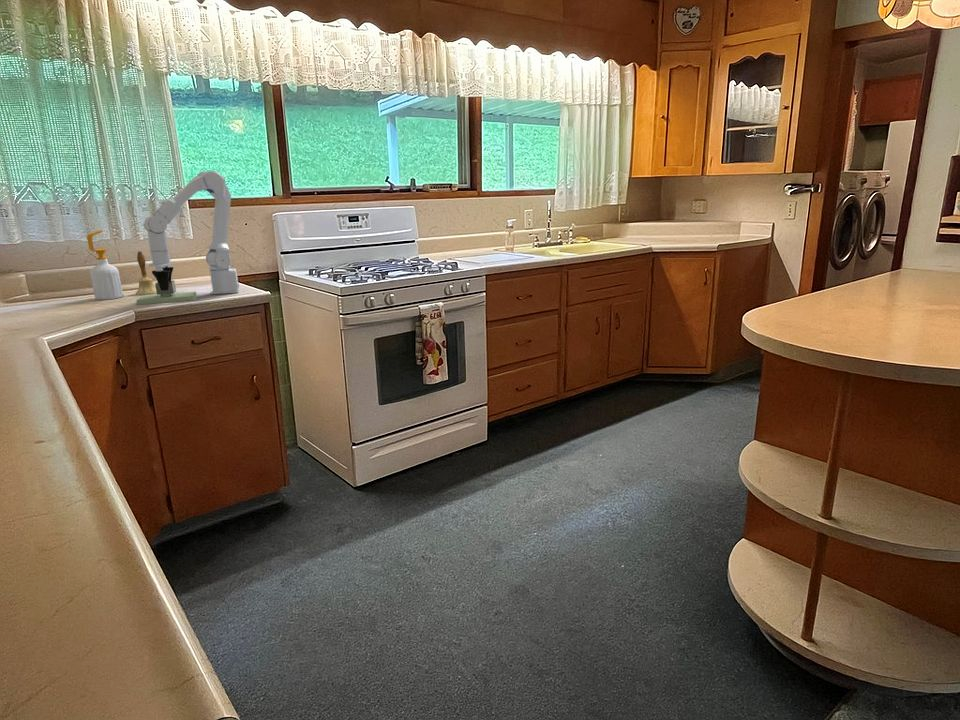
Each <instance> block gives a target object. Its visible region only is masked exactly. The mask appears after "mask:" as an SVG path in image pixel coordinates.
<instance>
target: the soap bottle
mask: <svg viewBox="0 0 960 720" xmlns="http://www.w3.org/2000/svg"><path fill="white" fill-rule="evenodd" d="M103 232H104V231H103V230H101V229H100V230H95V231H93V232H90V233H89V234H87V235H86V238H87V239H86V240H87V244H88V249H89V250H90V251H92V252H95V253H96V255H97V254H98V255H97V256H98V257H96V262H97V264H96V265H95V266H93V267H92V268H91V269H90V270H89V275H90V279H91V284H92V290H93V293H94V298H95V300H98V301H106V300H107V301H109V300H115V299H116V300H117V299H120V298H122V297H123V296H124V292H123V287H122V282H121V276H120V271H119V268H117V267H116V266H114V265H112V264H110V263H109V261H108V258H107V256H105V255H104V254H106V251H109V249H108V248H99V249H98V248H97V249H95V248H94V243H93V236H95V235H98V234H100V233H103Z"/></svg>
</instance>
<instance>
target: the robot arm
mask: <svg viewBox="0 0 960 720" xmlns="http://www.w3.org/2000/svg"><path fill="white" fill-rule="evenodd" d="M201 191H206V192H208V193H209V194H210V195H211V196H212V197H213V199H214V200H215V201H214V211H213V212H214V213H213V216H214V217H213V224H212V225H213V226H212V237H211V238H212V239H211V244H210V245H209V247H208V248H209V249H208V252H207V253H206V255H205V261H206V263H207V265H209V275H210V281H211V288H212V291H211V293H210V294H211V295H220V294H221V295H222V294H235V293H239V290H240V284H239V279H238V274H237V273H238V272H237V269H236V268H234V267H233V268H231V264H232V258H231V255H230V248H229V247H230V246H229V245H228V236H229V225H230V213H231V212H230V211H231V203H232V201H231V200H232V195H231V193H230V190H229V188H228V186H227V183H226V179H225V178H224V176H223V175H222V174H220V173H219V172H218V171H216V170H210V171H201V172H199V173H198V174H197V175H196V176H194V177H193V178H192V179H191V180H190V181H189V182H188V183H187V184H186V185H185V186H184V187H183V188H182V189H181V190H180V191H179V192H178V194H177V195H176V196H175V197H174V198H173V199H166V200H162V201H161V202H160V204H161V205H160V206H159V207H157V209H156V210H155V211H154V210H153V211H152V212H151V215H149V216H147V217H146V218H145V219H144V222H143V228H144V229H145V230H146V231H147V240H148V245H149V250H150V256H151V262H152V263H149V267H153V268H154V269H155V270H151V274H152V275H153V276H154V278H155V279H156V281H157V282H158V284H159V286H160V289H161V291H164V290H168V281H172V275H173V270H174V267H173V266H172V261H171V256H170V251H169V250H170V249H169V244H168V239H167V235H166V230H167V227H168V225H169V224H170V223H171V222H173V220H174V219H176V217H177V216H178V215H179V214H180V213H181V212H182V206H184V204H185V203H186V202H187V201H189V199H191V198H192V197H193V196H195V194H196V193H198V192H201Z"/></svg>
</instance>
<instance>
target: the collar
mask: <svg viewBox="0 0 960 720" xmlns="http://www.w3.org/2000/svg"><path fill="white" fill-rule="evenodd" d="M154 286H155V288H156V292H157V293H156V294H157V295H162V294H174V293H177V289H176V283H175V280H173V279H171V281H168V290H164V291H161V289H160V286H159V284H158V281H157V282H155V283H154Z"/></svg>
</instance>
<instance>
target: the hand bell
mask: <svg viewBox="0 0 960 720" xmlns="http://www.w3.org/2000/svg"><path fill="white" fill-rule="evenodd" d="M136 258H137V259H136V260H137V264H138V266H139V268H140V271H141V278H140V279H138V289H137V291H136V292H135V295H136V296H142V295H155V294H157V292H156V286H155V283H153V279H152V278H151V277H150V278H149V276H148V274H147V270H146V257H145V256H144V254H143V252H142V251H141V250H140V251H137V256H136Z"/></svg>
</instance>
